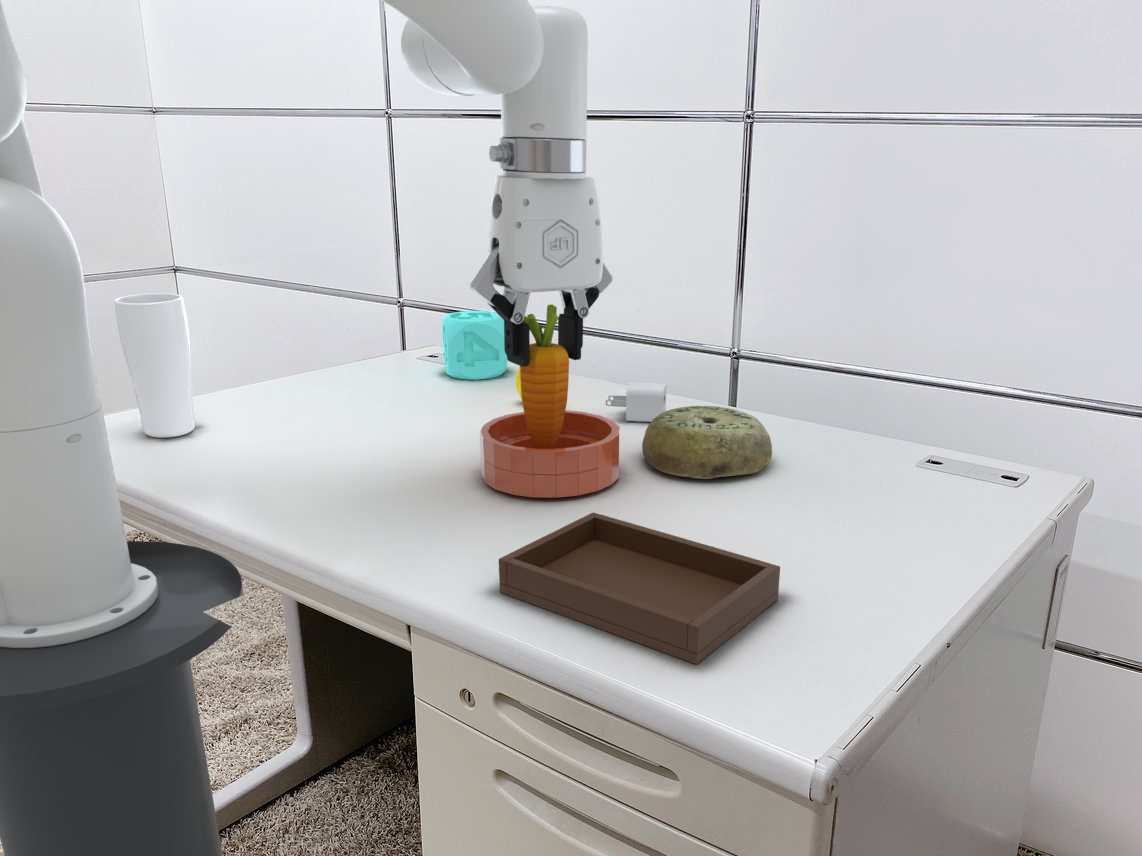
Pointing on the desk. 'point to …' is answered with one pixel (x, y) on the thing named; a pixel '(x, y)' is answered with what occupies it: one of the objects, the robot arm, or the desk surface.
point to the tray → (642, 584)
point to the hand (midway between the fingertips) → (544, 358)
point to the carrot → (545, 383)
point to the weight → (706, 442)
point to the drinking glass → (158, 360)
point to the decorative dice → (474, 345)
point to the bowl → (550, 456)
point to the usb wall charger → (642, 401)
